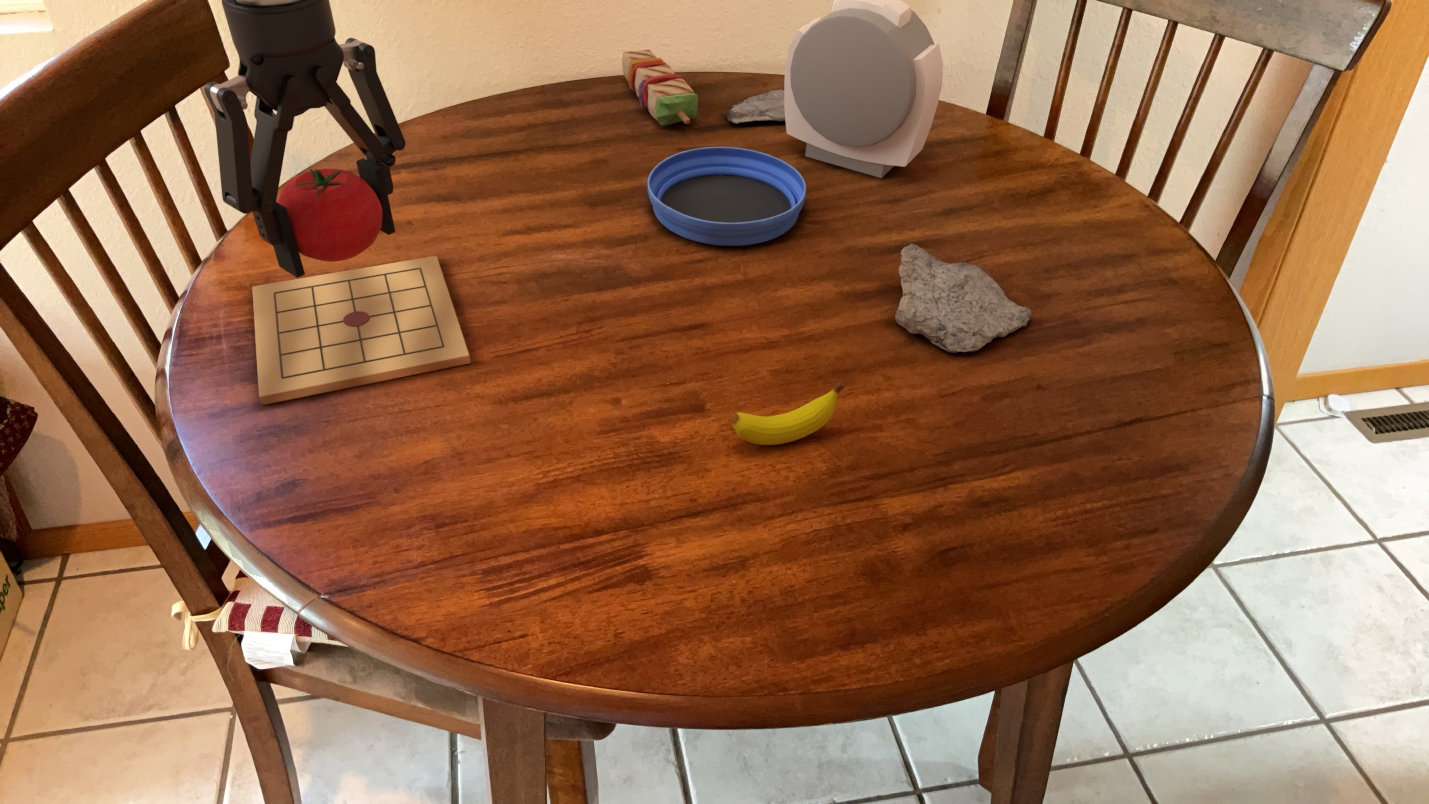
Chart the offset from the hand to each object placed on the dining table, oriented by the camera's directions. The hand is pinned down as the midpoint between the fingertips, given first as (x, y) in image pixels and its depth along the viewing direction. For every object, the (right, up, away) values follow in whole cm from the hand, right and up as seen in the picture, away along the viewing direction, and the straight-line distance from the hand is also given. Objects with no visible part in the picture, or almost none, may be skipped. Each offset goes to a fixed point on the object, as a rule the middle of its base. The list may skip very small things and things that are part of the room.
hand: (339, 248), depth 88 cm
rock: (+58, -5, +11) cm, 59 cm away
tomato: (0, 0, 0) cm, 0 cm away
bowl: (+35, +8, +25) cm, 44 cm away
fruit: (+40, -17, -4) cm, 43 cm away
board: (0, -7, +6) cm, 9 cm away
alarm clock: (+51, +17, +36) cm, 65 cm away
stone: (+45, +27, +47) cm, 71 cm away
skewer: (+26, +26, +46) cm, 59 cm away
